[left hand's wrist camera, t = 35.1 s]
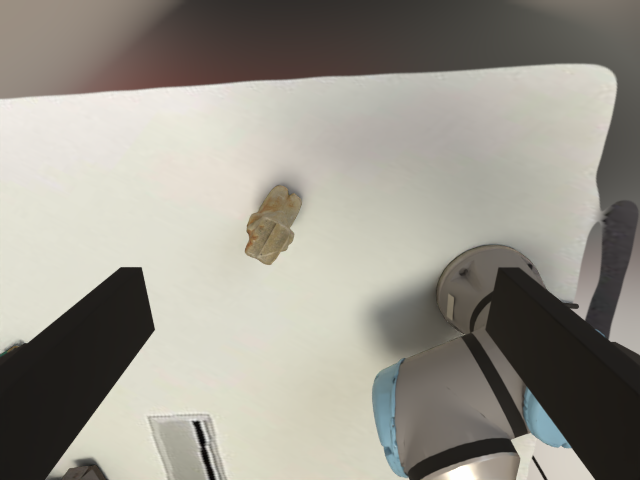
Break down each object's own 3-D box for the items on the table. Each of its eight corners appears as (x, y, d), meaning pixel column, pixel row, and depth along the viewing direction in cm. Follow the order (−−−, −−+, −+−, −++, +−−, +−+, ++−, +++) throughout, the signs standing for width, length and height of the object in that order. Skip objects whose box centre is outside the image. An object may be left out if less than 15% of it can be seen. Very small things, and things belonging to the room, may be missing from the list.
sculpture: (309, 201, 49) (305, 239, 35) (281, 239, 51) (267, 289, 37) (275, 177, 48) (257, 207, 34) (248, 217, 50) (220, 260, 36)
